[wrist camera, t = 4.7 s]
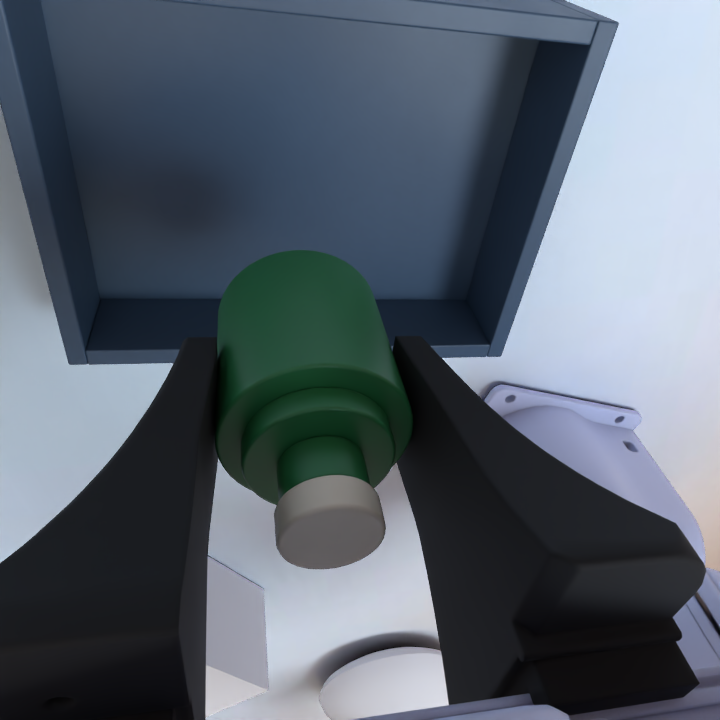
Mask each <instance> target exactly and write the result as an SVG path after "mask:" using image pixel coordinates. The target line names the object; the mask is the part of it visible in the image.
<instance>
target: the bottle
mask: <svg viewBox="0 0 720 720" xmlns="http://www.w3.org/2000/svg"><path fill="white" fill-rule="evenodd" d="M217 353H218V369H217V396H216V411H215V448H216V453H217V455H218V458H219V460H220V462H221V464H222V466H223V467H224V469H225V470H226V471H227V473H228V474H229V475H230V476H231V477H232V478H233V479H234V480H236V481H237V482H238V483H240V484H241V485H243V486H244V487H246V488H248V489H250V490H252V491H253V492H255V493H256V494H257V495H258V496H259V497H261V498H263V499H264V500H266V501H268V502H270V503H272V504H275V505H277V506H276V509H275V513H274V519H275V534H276V546H277V549H278V551H279V553H280V554H281V556H282V557H283V558H284V559H285V560H286V561H288V562H290V563H291V564H294V565H296V566H299V567H303V568H308V569H330V568H337V567H342V566H345V565H349V564H352V563H354V562H357V561H359V560H361V559H363V558H365V557H366V556H368V555H369V554H371V553H372V552H373V551H374V550H375V549H376V548H377V547H378V546H379V545H380V544H381V542H382V540H383V538H384V535H385V530H386V525H385V520H384V516H383V512H382V508H381V503H380V499H379V496H378V494H377V492H376V491H375V490H374V489H373V488H375V487H376V486H377V485H378V484H379V483H380V482H381V481H382V480H383V479H384V478H385V477H386V475H387V474H388V473H389V471H390V469H391V468H392V466H393V465H394V464H395V463H396V462H397V461H398V460H399V459H400V457H401V456H402V455H403V453H404V452H405V450H406V448H407V446H408V444H409V441H410V438H411V435H412V429H413V414H412V409H411V406H410V403H409V400H408V397H407V394H406V391H405V388H404V385H403V382H402V379H401V376H400V373H399V370H398V367H397V364H396V361H395V358H394V355H393V352H392V349H391V346H390V343H389V340H388V337H387V334H386V331H385V328H384V325H383V322H382V319H381V316H380V313H379V310H378V307H377V304H376V301H375V298H374V295H373V293H372V290H371V288H370V286H369V284H368V283H367V281H366V280H365V278H364V277H363V276H362V275H361V274H360V273H359V272H358V271H357V270H356V269H355V268H354V267H353V266H351V265H350V264H348V263H347V262H345V261H343V260H341V259H339V258H337V257H335V256H332V255H329V254H326V253H322V252H318V251H310V250H291V251H284V252H279V253H275V254H272V255H269V256H266V257H264V258H261V259H259V260H257V261H256V262H254V263H252V264H250V265H249V266H248V267H246V268H245V269H243V270H242V271H241V272H240V273H239V274H238V275H237V276H236V277H235V278H234V279H233V280H232V282H231V283H230V284H229V285H228V287H227V289H226V290H225V292H224V294H223V296H222V299H221V301H220V305H219V310H218V334H217Z"/></svg>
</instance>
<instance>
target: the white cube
mask: <svg viewBox="0 0 720 720" xmlns="http://www.w3.org/2000/svg"><path fill="white" fill-rule="evenodd" d="M267 691H269V684H268V664H267V644H266V623H265V603H264V589H263V588H261V587H259V586H258V585H256V584H254V583H253V582H251V581H249V580H248V579H246V578H244V577H243V576H241V575H239V574H237V573H236V572H234V571H232V570H231V569H229V568H227V567H226V566H224V565H222V564H221V563H219V562H217V561H215V560H214V559H212V558H210V557H209V556H208V565H207V622H206V706H205V718H206V717H208V716H211V715H213V714H215V713H218V712H220V711H222V710H225V709H227V708H229V707H232V706H234V705H236V704H239V703H241V702H243V701H246V700H248V699H250V698H253V697H255V696H257V695H260V694H262V693H264V692H267Z"/></svg>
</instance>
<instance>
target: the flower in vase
mask: <svg viewBox="0 0 720 720" xmlns="http://www.w3.org/2000/svg"><path fill="white" fill-rule="evenodd" d="M319 701H320V704H321V706H322V708H323V710H324V712H325V714H326V715H327V716H328V717H329V718H330V719H331V720H351V719H358V718H365V717H372V716H378V715H385V714H392V713H399V712H406V711H412V710H419V709H426V708H433V707H440V706H446V705H449V703H448V696H447V689H446V682H445V675H444V668H443V661H442V654H441V651H440V650H436V649H431V648H422V647H399V648H392V649H387V650H382V651H378V652H374V653H371V654H368V655H365V656H363V657H360V658H358V659H356V660H354V661H352V662H350V663H348V664H346V665H345V666H343V667H342V668H340V669H339V670H337V671H336V672H334V673H333V674H332V675H331V676H330V677H329V678H328V679H327V680H326V682H325V683H324V685H323V688H322V690H321V692H320V695H319Z"/></svg>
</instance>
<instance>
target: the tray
mask: <svg viewBox="0 0 720 720" xmlns="http://www.w3.org/2000/svg"><path fill="white" fill-rule="evenodd" d="M617 27H618V22H616V21H614V20H611V19H609V18H607V17H604V16H602V15H599V14H597V13H594V12H592V11H589V10H587V9H584V8H582V7H579V6H577V5H574V4H572V3H570V2H567V1H565V0H0V104H1V108H2V112H3V115H4V119H5V123H6V127H7V131H8V134H9V138H10V142H11V146H12V150H13V153H14V157H15V161H16V165H17V169H18V173H19V176H20V180H21V184H22V188H23V192H24V195H25V199H26V203H27V207H28V211H29V214H30V218H31V222H32V226H33V230H34V233H35V237H36V241H37V245H38V249H39V253H40V256H41V260H42V264H43V268H44V272H45V275H46V279H47V283H48V287H49V291H50V294H51V298H52V302H53V306H54V310H55V313H56V317H57V321H58V325H59V329H60V333H61V336H62V340H63V344H64V348H65V352H66V355H67V359H68V363H69V364H70V365H79V364H141V363H174V362H175V360H176V358H177V355H178V353H179V351H180V348H181V345H182V342H183V341H184V340H185V339H186V338H187V337H217V334H218V310H219V305H220V301H221V299H222V296H223V294H224V292H225V290H226V289H227V287H228V285H229V284H230V283H231V282H232V280H233V279H234V278H235V277H236V276H237V275H238V274H239V273H240V272H241V271H242V270H243V269H245V268H246V267H248V266H249V265H250V264H252V263H254V262H256V261H257V260H259V259H261V258H264V257H266V256H269V255H272V254H275V253H279V252H284V251H291V250H310V251H318V252H322V253H326V254H329V255H332V256H335V257H337V258H339V259H341V260H343V261H345V262H347V263H348V264H350V265H351V266H353V267H354V268H355V269H356V270H357V271H358V272H359V273H360V274H361V275H362V276H363V277H364V278H365V280H366V281H367V283H368V284H369V286H370V288H371V290H372V293H373V295H374V298H375V301H376V304H377V307H378V310H379V313H380V316H381V319H382V322H383V325H384V328H385V331H386V334H387V337H388V340H389V343H390V346H391V349H392V350H393V346H394V341H395V336H421V337H422V338H423V339H424V340H425V341H426V342H427V343H428V344H429V345H430V346H431V347H432V348H433V349H434V351H435V352H436V353H437V354H438V355H439V356H440V357H441V358H450V357H486V356H487V357H500V356H501V355H502V352H503V349H504V346H505V344H506V341H507V338H508V335H509V332H510V329H511V327H512V324H513V321H514V318H515V315H516V313H517V310H518V307H519V304H520V301H521V298H522V296H523V293H524V290H525V287H526V284H527V281H528V279H529V276H530V273H531V270H532V267H533V265H534V262H535V259H536V256H537V253H538V250H539V248H540V245H541V242H542V239H543V236H544V233H545V231H546V228H547V225H548V222H549V219H550V217H551V214H552V211H553V208H554V205H555V202H556V200H557V197H558V194H559V191H560V188H561V185H562V183H563V180H564V177H565V174H566V171H567V168H568V166H569V163H570V160H571V157H572V154H573V152H574V149H575V146H576V143H577V140H578V137H579V135H580V132H581V129H582V126H583V123H584V120H585V118H586V115H587V112H588V109H589V106H590V104H591V101H592V98H593V95H594V92H595V89H596V87H597V84H598V81H599V78H600V75H601V72H602V70H603V67H604V64H605V61H606V58H607V56H608V53H609V50H610V47H611V44H612V41H613V39H614V36H615V33H616V30H617Z"/></svg>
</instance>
